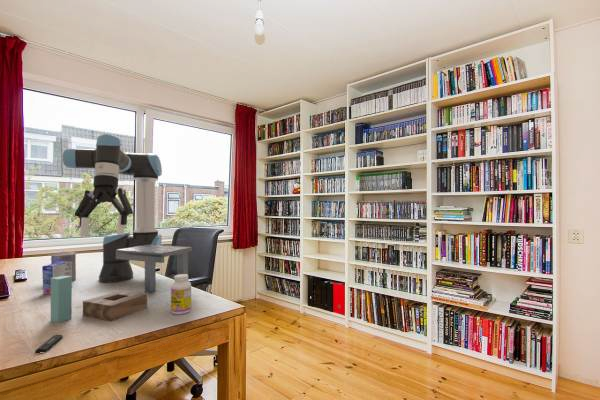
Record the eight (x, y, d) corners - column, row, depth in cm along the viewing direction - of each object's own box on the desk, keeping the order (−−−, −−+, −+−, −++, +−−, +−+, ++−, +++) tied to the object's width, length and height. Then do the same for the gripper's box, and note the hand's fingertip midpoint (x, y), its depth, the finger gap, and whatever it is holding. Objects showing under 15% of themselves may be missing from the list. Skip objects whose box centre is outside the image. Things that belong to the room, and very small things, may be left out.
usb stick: (45, 354, 79) (45, 348, 79) (33, 355, 78) (33, 349, 78) (64, 338, 88) (64, 333, 88) (53, 339, 87) (53, 334, 87)
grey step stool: (115, 300, 122) (115, 249, 122) (148, 289, 136) (148, 244, 137) (161, 307, 113) (161, 253, 113) (191, 295, 128) (191, 247, 128)
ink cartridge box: (61, 287, 140) (61, 256, 140) (72, 288, 139) (72, 256, 140) (41, 294, 130) (41, 260, 130) (53, 294, 130) (53, 260, 130)
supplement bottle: (166, 313, 107) (166, 276, 107) (182, 307, 113) (182, 272, 113) (180, 316, 104) (180, 278, 104) (195, 310, 110) (195, 274, 110)
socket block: (82, 315, 105) (82, 301, 105) (120, 303, 118) (120, 290, 118) (111, 321, 100) (111, 305, 100) (147, 307, 113) (147, 293, 113)
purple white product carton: (56, 279, 155) (56, 250, 155) (79, 278, 158) (78, 249, 158) (47, 284, 146) (47, 253, 146) (71, 282, 149) (71, 252, 149)
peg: (50, 321, 100) (50, 278, 100) (63, 316, 104) (63, 275, 104) (58, 322, 99) (58, 279, 99) (71, 318, 102) (71, 276, 103)
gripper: (65, 176, 108) (59, 236, 105) (132, 171, 106) (129, 233, 103) (82, 181, 116) (77, 237, 112) (145, 177, 114) (142, 234, 110)
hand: (102, 235), depth 107 cm, fingers open, 13 cm apart
